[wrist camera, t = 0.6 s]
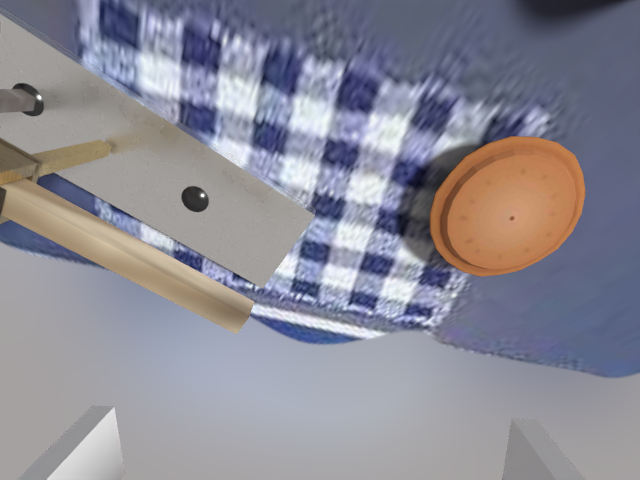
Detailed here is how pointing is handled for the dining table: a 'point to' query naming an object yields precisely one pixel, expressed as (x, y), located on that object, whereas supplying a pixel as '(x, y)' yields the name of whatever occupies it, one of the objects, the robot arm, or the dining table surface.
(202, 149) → the hole plate
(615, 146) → the dining table surface
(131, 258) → the bar
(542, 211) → the pie
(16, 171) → the block
